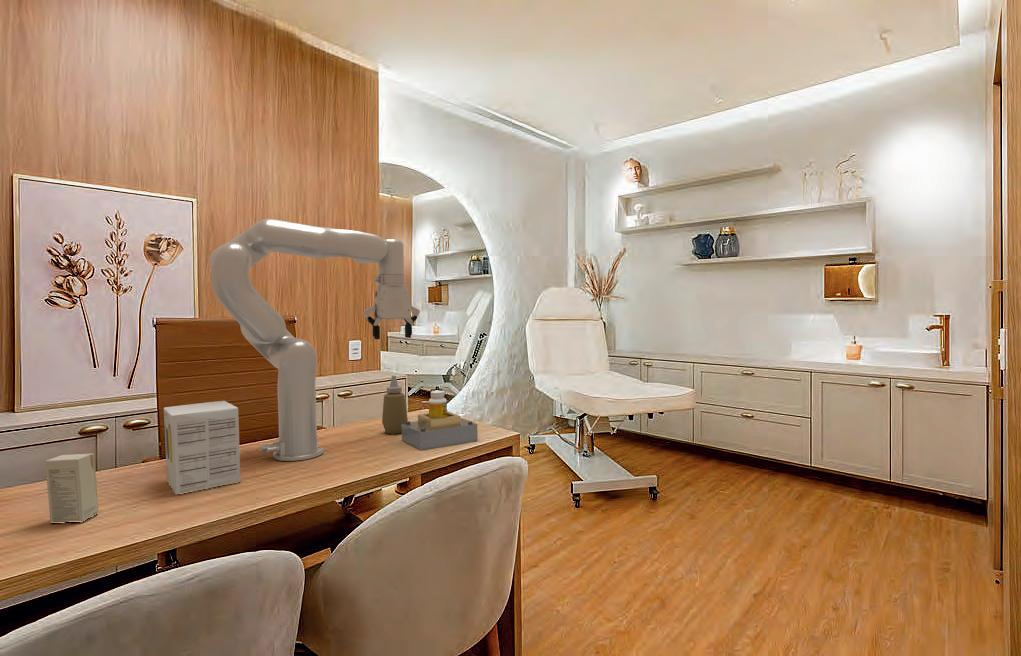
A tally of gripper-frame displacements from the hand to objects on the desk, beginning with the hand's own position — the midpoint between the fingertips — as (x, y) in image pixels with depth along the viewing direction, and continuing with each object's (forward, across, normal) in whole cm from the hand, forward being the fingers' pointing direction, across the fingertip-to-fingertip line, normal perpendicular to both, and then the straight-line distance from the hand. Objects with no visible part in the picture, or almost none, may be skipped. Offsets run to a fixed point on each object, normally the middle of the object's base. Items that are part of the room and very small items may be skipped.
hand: (392, 338), depth 161 cm
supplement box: (+31, -51, -13) cm, 61 cm away
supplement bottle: (+26, +10, -10) cm, 29 cm away
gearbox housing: (+30, +10, -10) cm, 33 cm away
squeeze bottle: (+31, +3, +8) cm, 32 cm away
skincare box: (+31, -73, -24) cm, 83 cm away
